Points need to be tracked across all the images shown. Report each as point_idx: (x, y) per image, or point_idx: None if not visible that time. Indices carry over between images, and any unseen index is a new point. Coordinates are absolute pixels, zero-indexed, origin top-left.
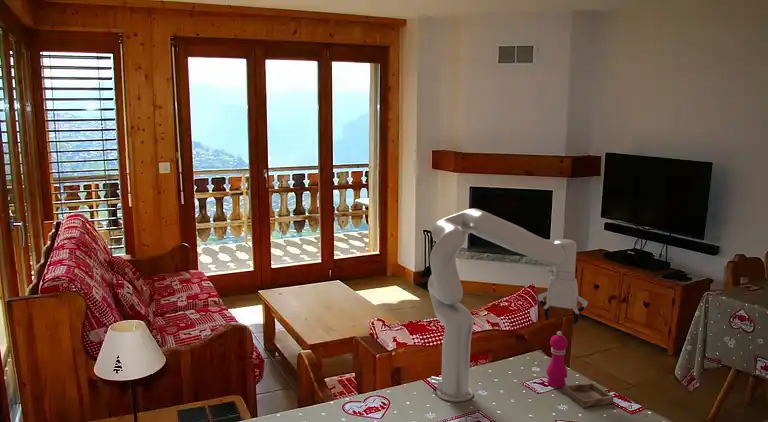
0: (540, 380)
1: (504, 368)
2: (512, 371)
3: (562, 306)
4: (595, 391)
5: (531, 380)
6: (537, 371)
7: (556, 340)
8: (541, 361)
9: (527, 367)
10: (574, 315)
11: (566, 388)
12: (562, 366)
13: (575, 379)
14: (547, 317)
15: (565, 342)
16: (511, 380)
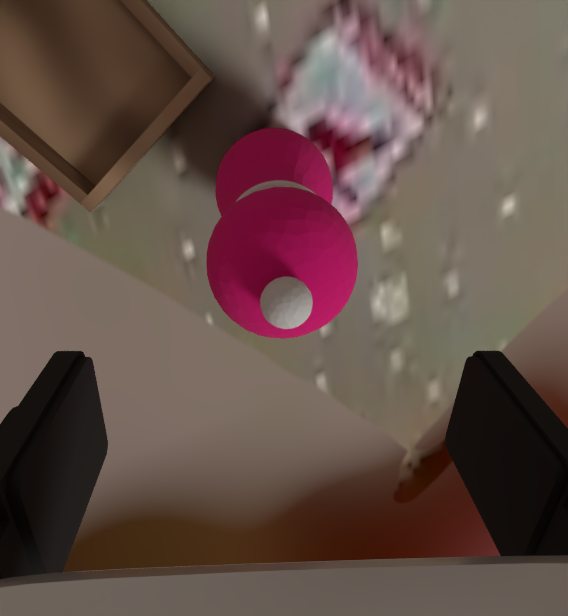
0: (352, 181)
1: (535, 234)
2: (495, 219)
3: (261, 586)
4: (66, 161)
5: (395, 158)
6: (378, 276)
7: (297, 214)
8: (373, 381)
9: (427, 296)
10: (11, 455)
11: (189, 54)
12: (237, 177)
13: (200, 275)
14: (492, 377)
15: (215, 240)
16: (498, 103)
